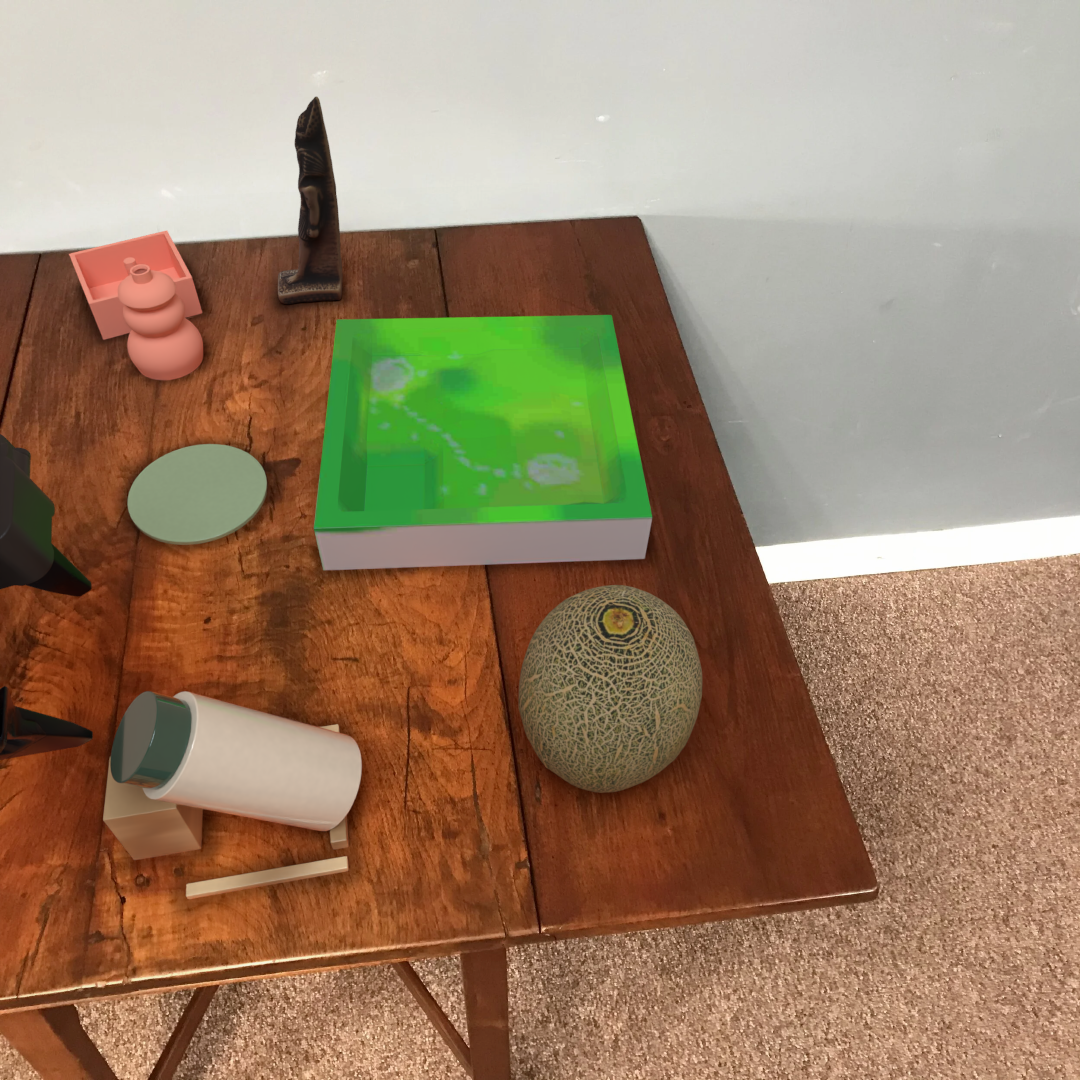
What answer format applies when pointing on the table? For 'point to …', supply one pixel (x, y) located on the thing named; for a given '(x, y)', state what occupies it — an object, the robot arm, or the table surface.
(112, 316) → the pottery
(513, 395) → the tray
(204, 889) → the jar stand
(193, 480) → the coaster
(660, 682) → the fruit
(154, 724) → the jar
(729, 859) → the table surface
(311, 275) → the statue
